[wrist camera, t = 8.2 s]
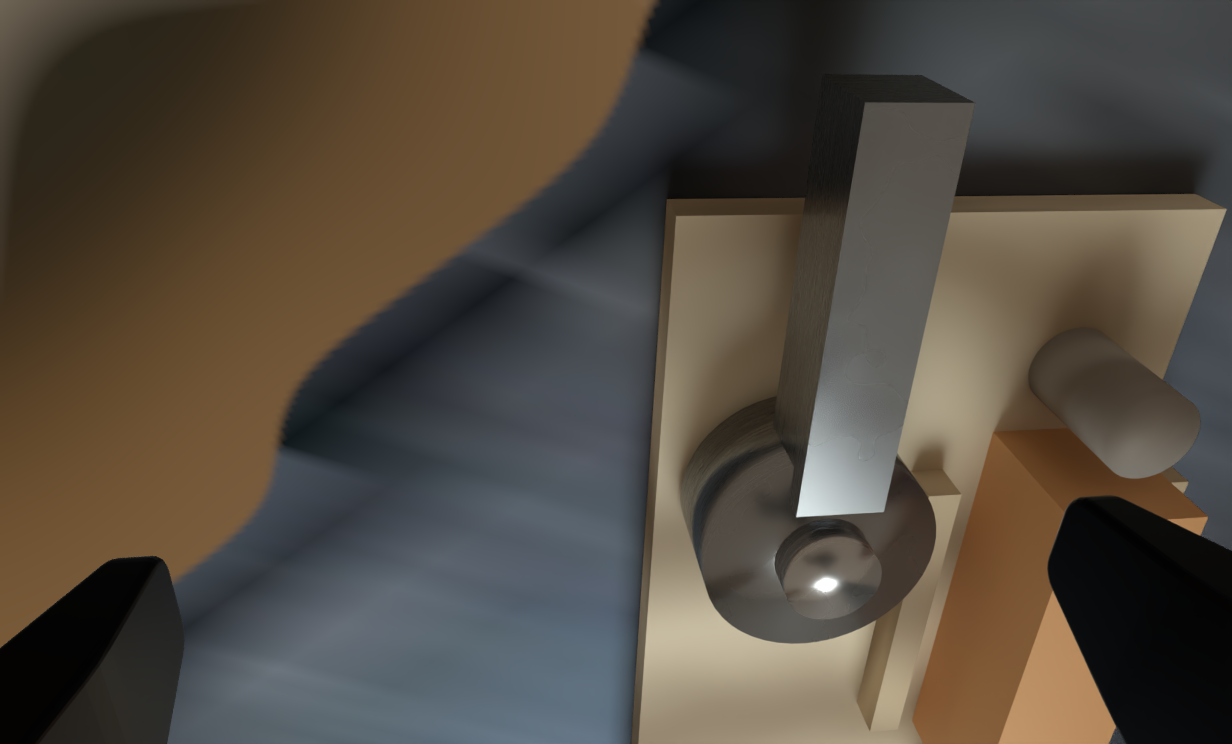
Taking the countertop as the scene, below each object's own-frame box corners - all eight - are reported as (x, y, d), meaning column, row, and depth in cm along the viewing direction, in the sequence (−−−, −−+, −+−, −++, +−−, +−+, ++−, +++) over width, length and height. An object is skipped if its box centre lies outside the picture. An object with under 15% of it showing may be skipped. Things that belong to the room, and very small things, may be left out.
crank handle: (870, 561, 23) (925, 662, 20) (673, 574, 22) (702, 679, 20) (980, 64, 17) (1081, 108, 14) (718, 61, 17) (769, 106, 14)
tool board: (1023, 742, 30) (1095, 859, 26) (628, 779, 28) (650, 910, 25) (1227, 193, 21) (1377, 263, 17) (667, 198, 19) (709, 277, 16)
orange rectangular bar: (1008, 712, 27) (1074, 819, 24) (911, 720, 27) (967, 831, 24) (1109, 426, 22) (1208, 517, 19) (993, 431, 22) (1075, 524, 19)
